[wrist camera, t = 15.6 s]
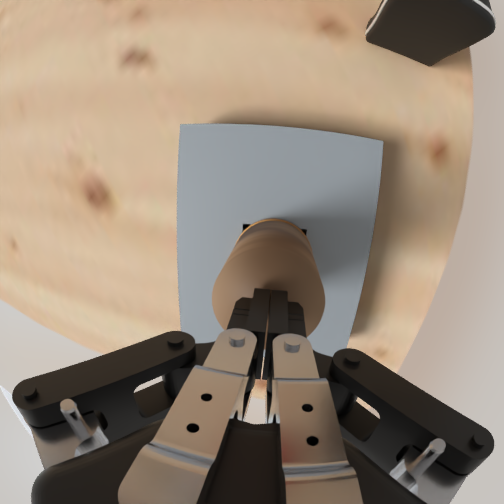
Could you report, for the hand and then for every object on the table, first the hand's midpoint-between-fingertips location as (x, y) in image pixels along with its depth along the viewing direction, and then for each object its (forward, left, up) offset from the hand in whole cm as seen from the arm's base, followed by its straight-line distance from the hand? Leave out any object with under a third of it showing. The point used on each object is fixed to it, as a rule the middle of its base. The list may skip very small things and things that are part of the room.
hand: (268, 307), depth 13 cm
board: (0, 0, -11) cm, 11 cm away
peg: (0, 0, -10) cm, 10 cm away
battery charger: (+10, +20, -11) cm, 25 cm away
